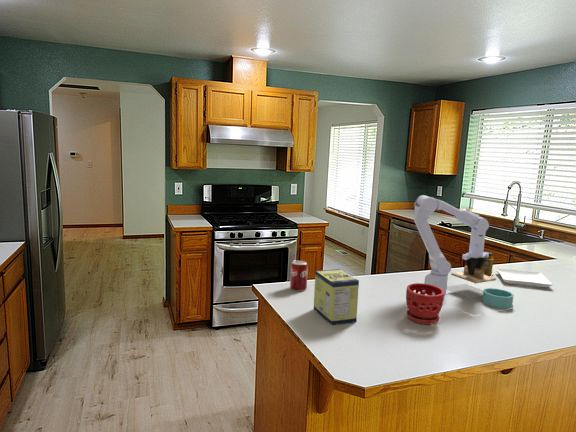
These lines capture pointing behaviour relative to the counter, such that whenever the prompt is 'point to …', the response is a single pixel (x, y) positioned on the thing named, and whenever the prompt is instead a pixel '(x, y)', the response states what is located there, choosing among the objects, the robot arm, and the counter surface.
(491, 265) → the condiment
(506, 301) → the teal bowl
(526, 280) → the salad plate
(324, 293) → the protein box
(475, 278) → the oak lid
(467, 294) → the grey mat
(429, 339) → the counter surface
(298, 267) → the soda can
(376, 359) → the counter surface
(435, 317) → the plant pot
